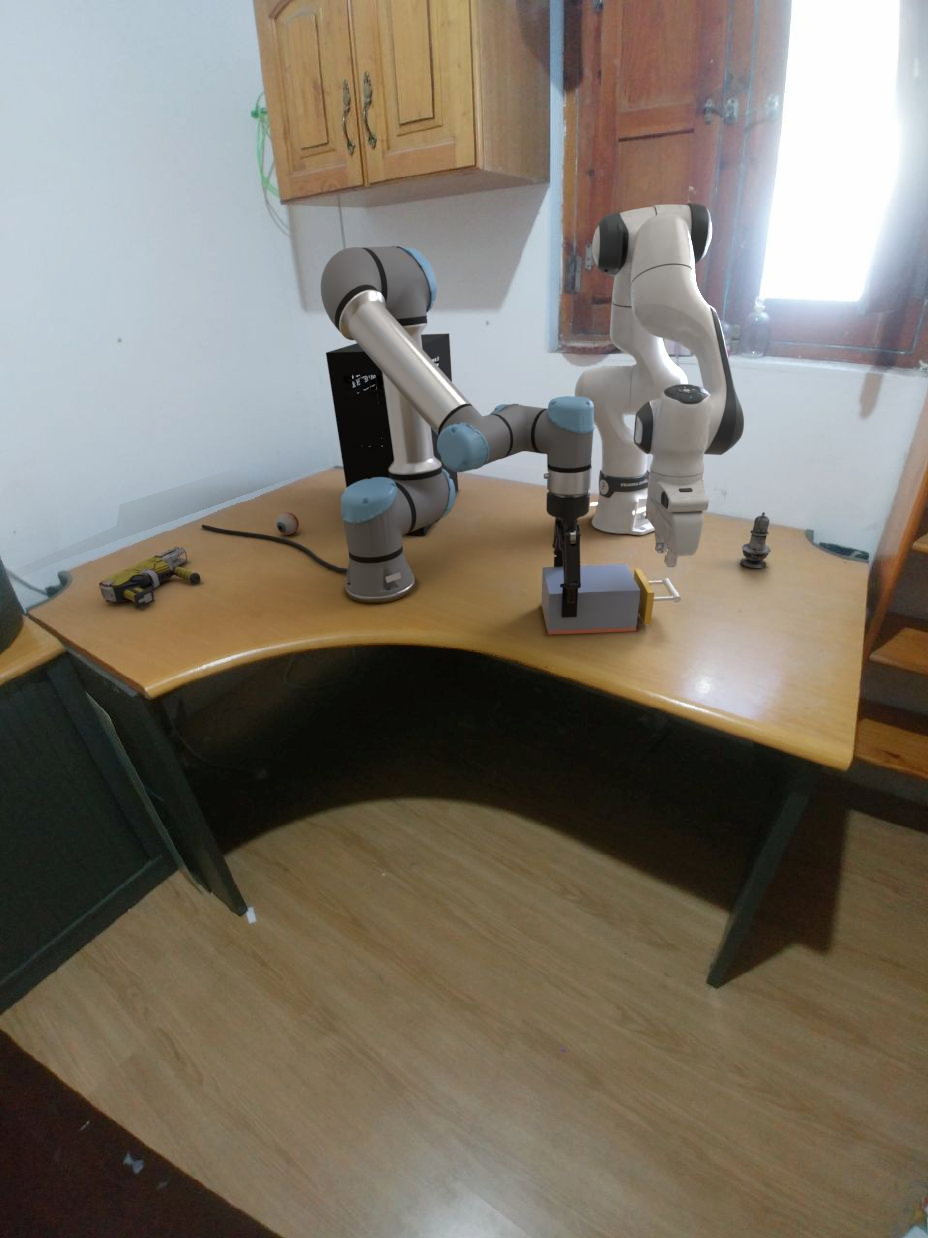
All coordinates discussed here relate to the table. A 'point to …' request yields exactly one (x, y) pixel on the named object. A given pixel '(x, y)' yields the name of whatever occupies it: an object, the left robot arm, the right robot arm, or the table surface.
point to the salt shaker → (757, 544)
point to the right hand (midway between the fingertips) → (665, 558)
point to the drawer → (651, 595)
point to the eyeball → (287, 523)
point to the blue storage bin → (592, 600)
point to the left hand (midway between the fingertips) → (564, 600)
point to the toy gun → (146, 578)
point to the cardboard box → (373, 411)
